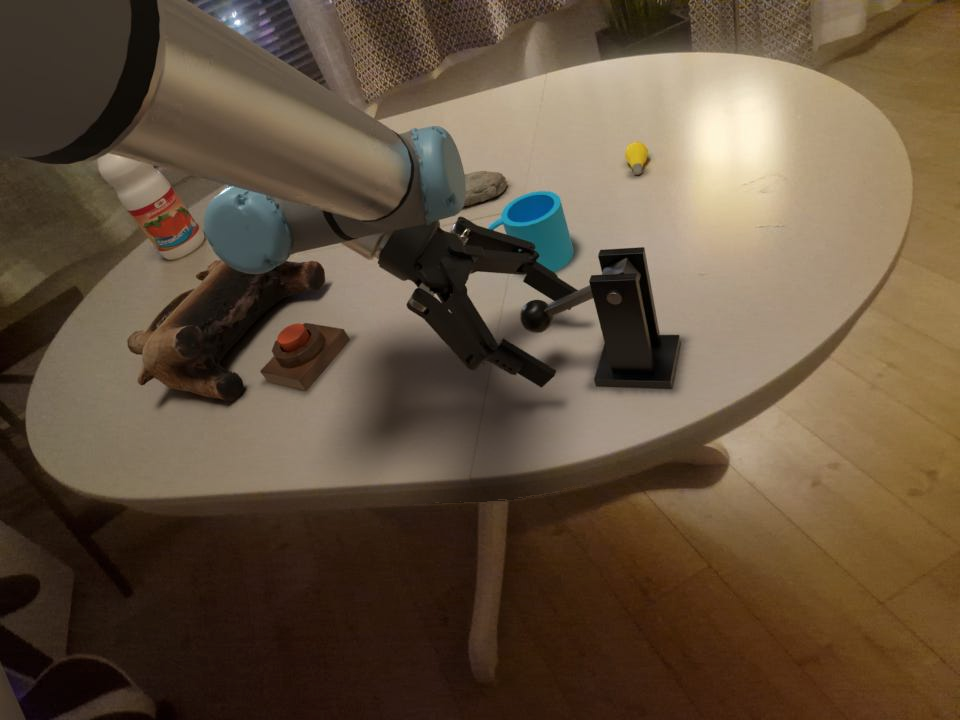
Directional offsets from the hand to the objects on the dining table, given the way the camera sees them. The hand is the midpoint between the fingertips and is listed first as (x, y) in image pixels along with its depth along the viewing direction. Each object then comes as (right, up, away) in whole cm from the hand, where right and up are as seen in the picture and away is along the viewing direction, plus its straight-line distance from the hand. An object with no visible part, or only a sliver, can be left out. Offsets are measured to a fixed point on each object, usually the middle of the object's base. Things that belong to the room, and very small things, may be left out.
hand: (563, 338), depth 71 cm
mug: (-2, +12, +20) cm, 23 cm away
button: (-34, 0, +17) cm, 38 cm away
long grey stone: (-21, +24, +43) cm, 53 cm away
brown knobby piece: (-48, +2, +31) cm, 57 cm away
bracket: (+8, -3, -1) cm, 9 cm away
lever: (+2, +3, -4) cm, 5 cm away
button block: (-33, -2, +19) cm, 38 cm away
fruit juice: (-70, +21, +63) cm, 96 cm away
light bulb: (+15, +27, +29) cm, 43 cm away
